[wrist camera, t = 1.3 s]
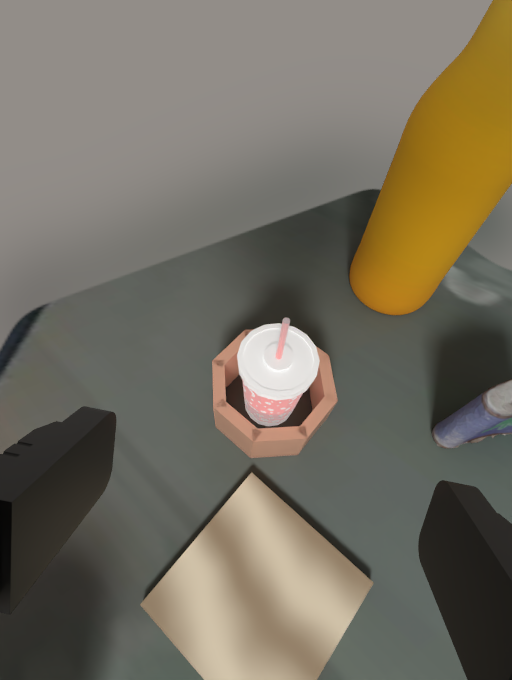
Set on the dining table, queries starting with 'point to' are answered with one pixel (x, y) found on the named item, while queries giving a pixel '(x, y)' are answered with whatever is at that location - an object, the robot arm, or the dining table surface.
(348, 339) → the dining table surface
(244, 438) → the ceramic ring
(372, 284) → the beer bottle
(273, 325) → the beverage cup
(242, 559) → the wooden coaster
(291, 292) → the dining table surface
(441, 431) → the flask
